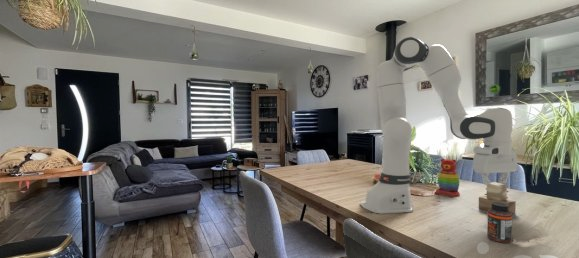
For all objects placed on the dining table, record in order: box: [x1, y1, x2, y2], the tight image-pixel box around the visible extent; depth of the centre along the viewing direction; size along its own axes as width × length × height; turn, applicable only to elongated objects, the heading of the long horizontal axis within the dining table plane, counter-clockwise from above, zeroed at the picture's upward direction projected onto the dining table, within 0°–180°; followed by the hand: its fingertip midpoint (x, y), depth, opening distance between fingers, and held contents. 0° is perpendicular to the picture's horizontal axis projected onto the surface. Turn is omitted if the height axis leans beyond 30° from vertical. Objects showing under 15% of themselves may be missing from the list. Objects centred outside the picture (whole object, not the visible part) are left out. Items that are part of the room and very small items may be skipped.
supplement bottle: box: [486, 202, 513, 244], centre depth 82 cm, size 6×6×11 cm
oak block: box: [486, 181, 508, 201], centre depth 103 cm, size 4×4×6 cm
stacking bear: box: [434, 158, 461, 198], centre depth 132 cm, size 11×10×18 cm
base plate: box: [470, 206, 524, 218], centre depth 103 cm, size 12×12×1 cm
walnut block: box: [478, 195, 517, 215], centre depth 103 cm, size 7×9×5 cm
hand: (495, 183), depth 103 cm, fingers open, 8 cm apart
